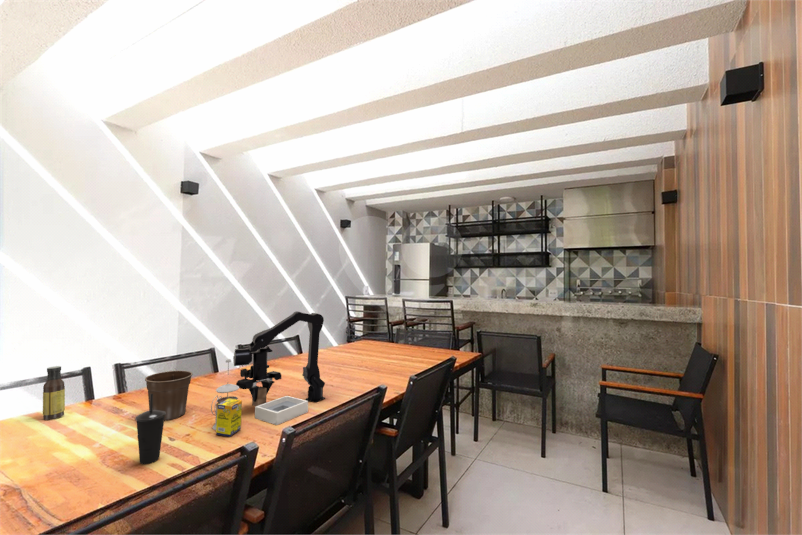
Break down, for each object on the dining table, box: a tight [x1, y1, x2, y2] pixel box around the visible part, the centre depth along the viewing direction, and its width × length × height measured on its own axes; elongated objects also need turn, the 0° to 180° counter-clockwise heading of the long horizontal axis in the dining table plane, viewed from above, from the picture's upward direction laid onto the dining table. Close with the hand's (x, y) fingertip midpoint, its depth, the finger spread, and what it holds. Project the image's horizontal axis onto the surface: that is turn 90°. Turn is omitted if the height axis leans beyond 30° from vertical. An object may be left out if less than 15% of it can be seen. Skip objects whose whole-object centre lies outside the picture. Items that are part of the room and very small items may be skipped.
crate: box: [254, 395, 309, 426], centre depth 144 cm, size 16×13×4 cm
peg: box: [251, 386, 268, 408], centre depth 150 cm, size 4×4×7 cm
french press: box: [210, 358, 240, 431], centre depth 133 cm, size 10×12×25 cm
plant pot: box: [144, 370, 193, 422], centre depth 143 cm, size 16×16×16 cm
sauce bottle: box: [42, 365, 66, 421], centre depth 140 cm, size 6×6×20 cm
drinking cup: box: [134, 394, 166, 465], centre depth 108 cm, size 8×8×20 cm
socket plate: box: [266, 401, 297, 412], centre depth 144 cm, size 14×11×2 cm
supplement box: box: [215, 399, 243, 438], centre depth 127 cm, size 6×6×11 cm
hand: (259, 400), depth 150 cm, fingers closed on peg, 4 cm apart
